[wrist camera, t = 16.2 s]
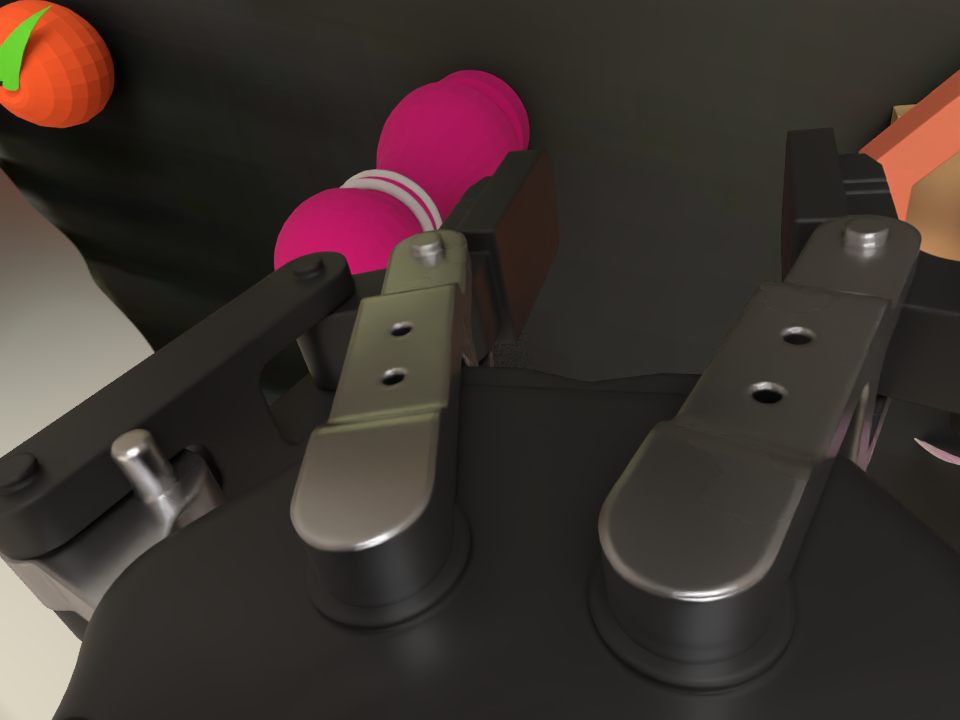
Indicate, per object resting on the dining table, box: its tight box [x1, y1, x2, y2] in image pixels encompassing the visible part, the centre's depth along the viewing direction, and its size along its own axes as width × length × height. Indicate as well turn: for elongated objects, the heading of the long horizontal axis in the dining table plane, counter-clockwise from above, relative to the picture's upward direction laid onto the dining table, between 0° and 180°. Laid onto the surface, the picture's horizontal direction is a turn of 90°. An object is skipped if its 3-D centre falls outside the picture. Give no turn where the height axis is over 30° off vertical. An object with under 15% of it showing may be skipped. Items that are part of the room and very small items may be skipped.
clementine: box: [0, 0, 114, 128], centre depth 41 cm, size 8×7×7 cm
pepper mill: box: [274, 70, 530, 275], centre depth 32 cm, size 7×7×20 cm
